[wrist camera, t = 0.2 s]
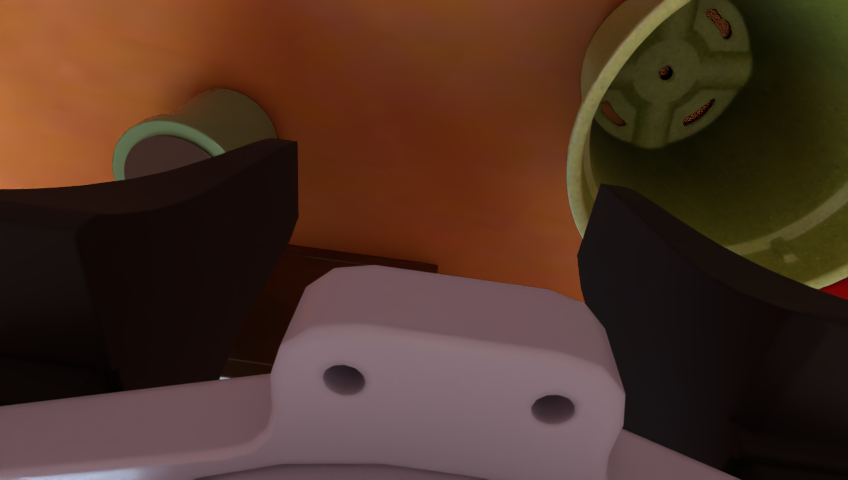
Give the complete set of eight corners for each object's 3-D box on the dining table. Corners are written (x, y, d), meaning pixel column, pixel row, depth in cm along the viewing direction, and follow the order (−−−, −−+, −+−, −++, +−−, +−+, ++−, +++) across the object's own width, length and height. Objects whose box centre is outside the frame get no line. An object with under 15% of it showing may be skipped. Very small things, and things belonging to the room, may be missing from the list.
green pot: (286, 192, 24) (248, 251, 20) (183, 178, 24) (123, 233, 20) (283, 89, 22) (238, 132, 18) (167, 73, 22) (96, 112, 18)
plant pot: (484, 77, 21) (490, 169, 14) (693, -147, 17) (864, -189, 9) (636, 219, 24) (709, 358, 16) (848, 56, 20) (1073, 146, 12)
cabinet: (192, 395, 32) (111, 536, 25) (162, 227, 26) (41, 351, 19) (413, 426, 32) (395, 577, 25) (438, 264, 26) (424, 404, 19)
